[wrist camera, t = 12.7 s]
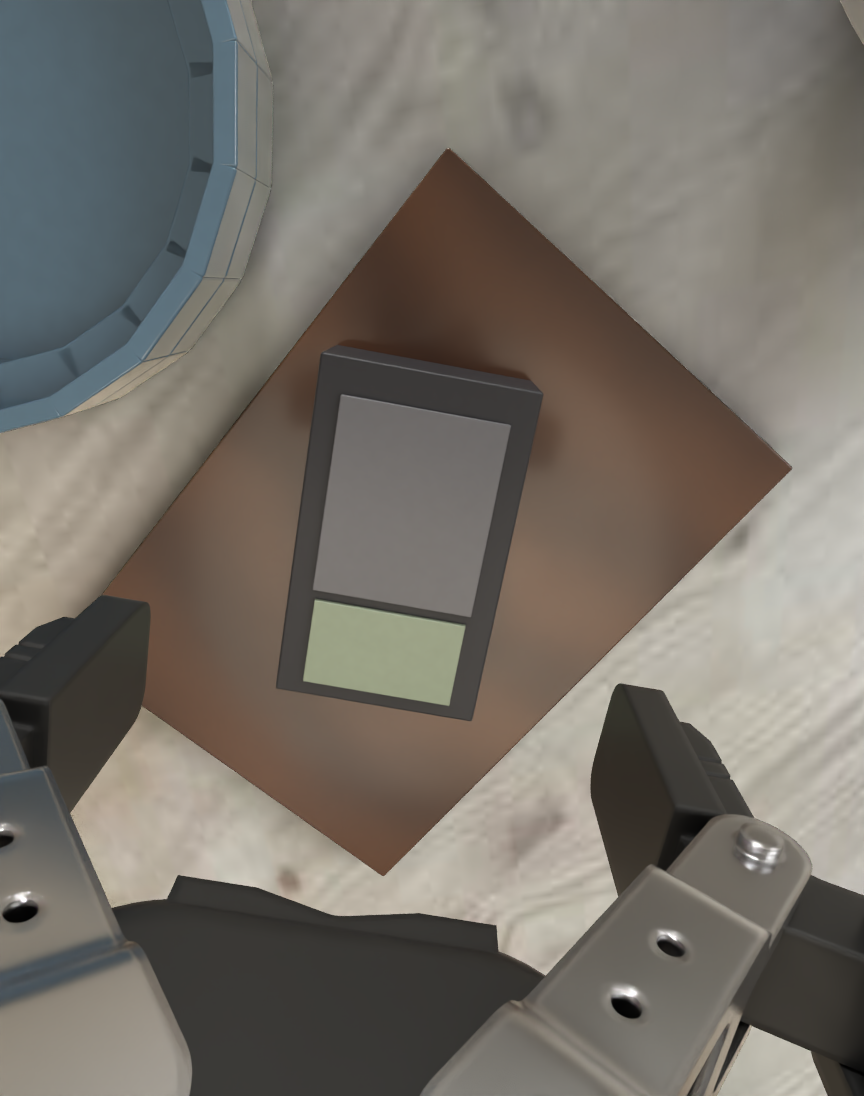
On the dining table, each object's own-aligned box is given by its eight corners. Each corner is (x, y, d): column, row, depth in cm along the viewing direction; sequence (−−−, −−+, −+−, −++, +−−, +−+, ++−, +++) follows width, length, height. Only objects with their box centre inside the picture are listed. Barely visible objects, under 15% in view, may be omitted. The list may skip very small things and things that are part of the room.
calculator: (335, 344, 24) (319, 351, 22) (533, 380, 25) (545, 393, 22) (292, 647, 27) (273, 691, 24) (469, 678, 28) (472, 725, 25)
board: (448, 154, 24) (447, 146, 23) (775, 458, 27) (794, 468, 25) (79, 630, 29) (60, 648, 28) (386, 850, 32) (383, 877, 30)
